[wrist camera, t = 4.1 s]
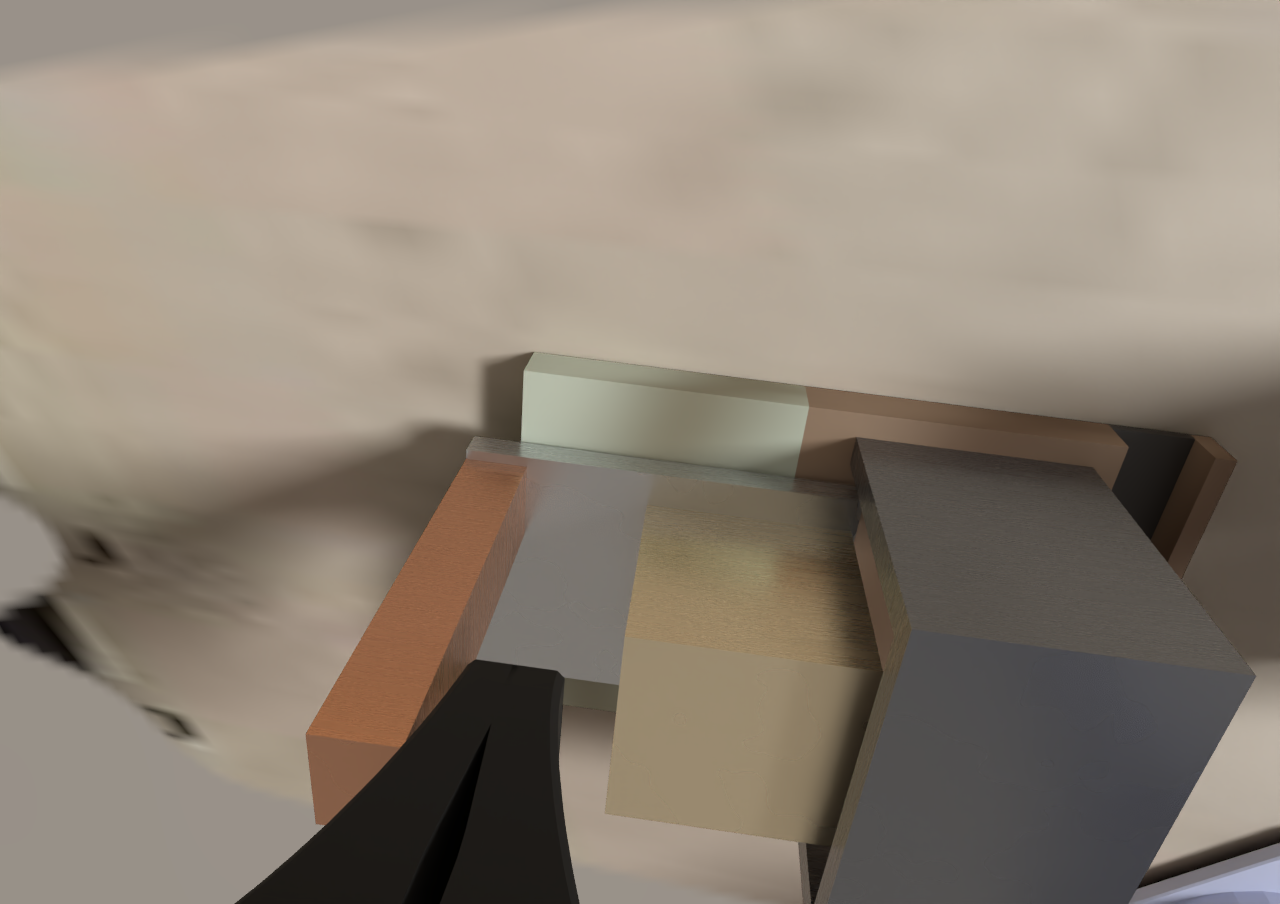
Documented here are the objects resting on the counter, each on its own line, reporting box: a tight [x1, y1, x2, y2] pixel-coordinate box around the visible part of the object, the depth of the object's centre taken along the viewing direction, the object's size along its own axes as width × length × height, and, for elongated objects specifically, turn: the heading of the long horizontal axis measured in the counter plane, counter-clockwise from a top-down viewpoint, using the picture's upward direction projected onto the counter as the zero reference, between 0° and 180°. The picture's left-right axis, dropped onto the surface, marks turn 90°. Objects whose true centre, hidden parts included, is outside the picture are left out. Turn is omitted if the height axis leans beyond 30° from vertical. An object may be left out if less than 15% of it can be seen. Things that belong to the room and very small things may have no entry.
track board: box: [521, 352, 1237, 712], centre depth 19 cm, size 14×8×1 cm, turn 84°
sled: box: [306, 436, 883, 847], centre depth 15 cm, size 8×5×8 cm
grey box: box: [798, 437, 1256, 904], centre depth 16 cm, size 4×7×6 cm, turn 174°
